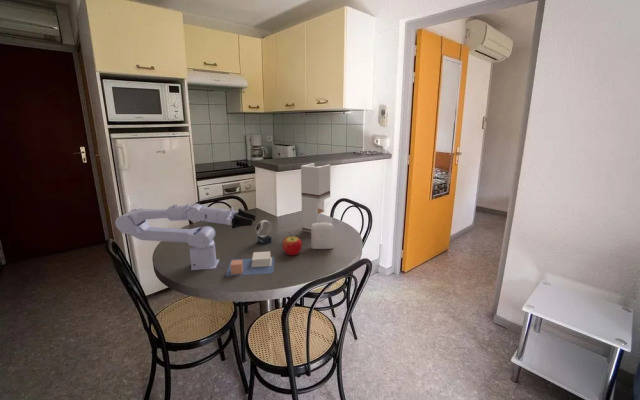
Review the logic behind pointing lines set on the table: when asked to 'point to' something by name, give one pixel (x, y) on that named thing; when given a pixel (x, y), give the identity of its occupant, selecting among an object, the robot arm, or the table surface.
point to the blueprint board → (253, 268)
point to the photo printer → (322, 235)
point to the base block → (261, 258)
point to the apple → (292, 245)
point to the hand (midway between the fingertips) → (253, 220)
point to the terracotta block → (236, 267)
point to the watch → (263, 238)
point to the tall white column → (313, 193)
